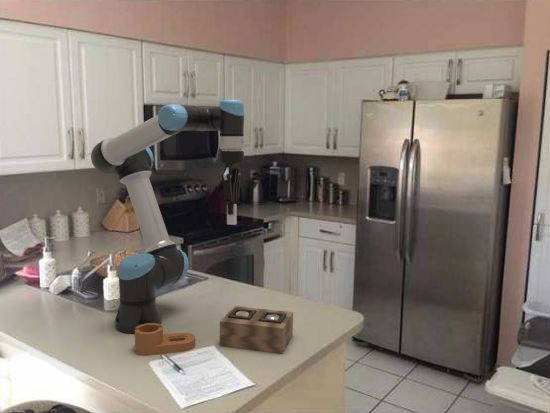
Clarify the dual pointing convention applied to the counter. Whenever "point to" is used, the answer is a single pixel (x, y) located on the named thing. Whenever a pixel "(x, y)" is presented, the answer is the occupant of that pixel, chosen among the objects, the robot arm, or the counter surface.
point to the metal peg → (272, 317)
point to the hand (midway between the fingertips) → (231, 224)
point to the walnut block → (256, 330)
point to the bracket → (160, 340)
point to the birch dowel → (242, 313)
